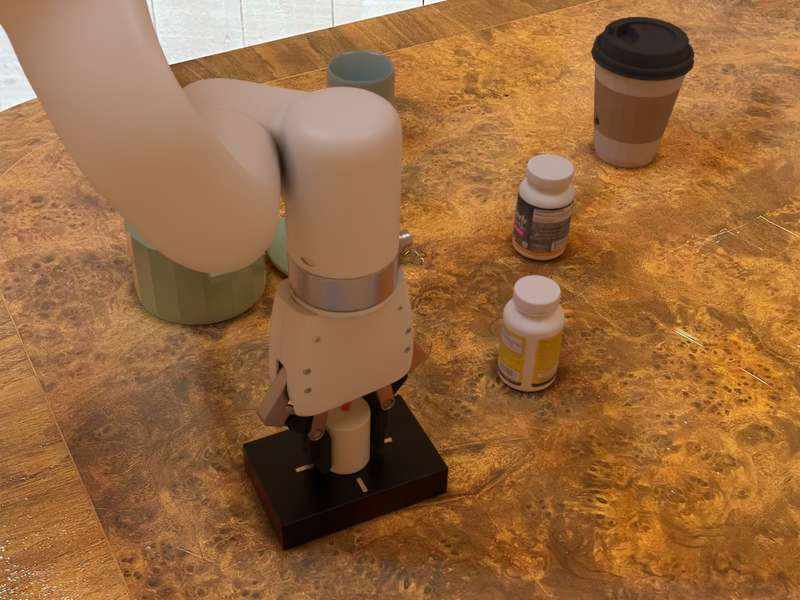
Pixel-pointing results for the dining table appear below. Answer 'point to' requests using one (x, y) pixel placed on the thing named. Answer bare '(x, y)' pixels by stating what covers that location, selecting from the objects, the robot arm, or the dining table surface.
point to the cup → (363, 73)
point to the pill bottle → (544, 207)
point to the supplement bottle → (531, 334)
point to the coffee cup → (636, 87)
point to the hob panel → (343, 480)
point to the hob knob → (349, 436)
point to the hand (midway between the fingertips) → (344, 447)
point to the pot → (191, 286)
